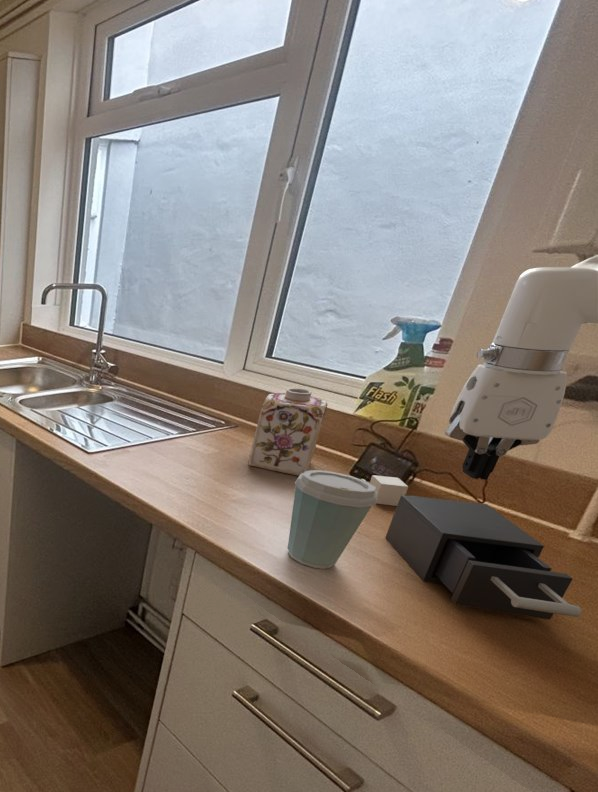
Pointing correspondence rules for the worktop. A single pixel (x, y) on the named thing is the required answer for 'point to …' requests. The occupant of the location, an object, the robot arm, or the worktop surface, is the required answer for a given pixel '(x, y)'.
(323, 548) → the disposable coffee cup
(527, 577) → the drawer
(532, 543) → the black cabinet
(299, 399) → the decorative jar
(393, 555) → the worktop surface
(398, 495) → the block
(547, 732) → the worktop surface
